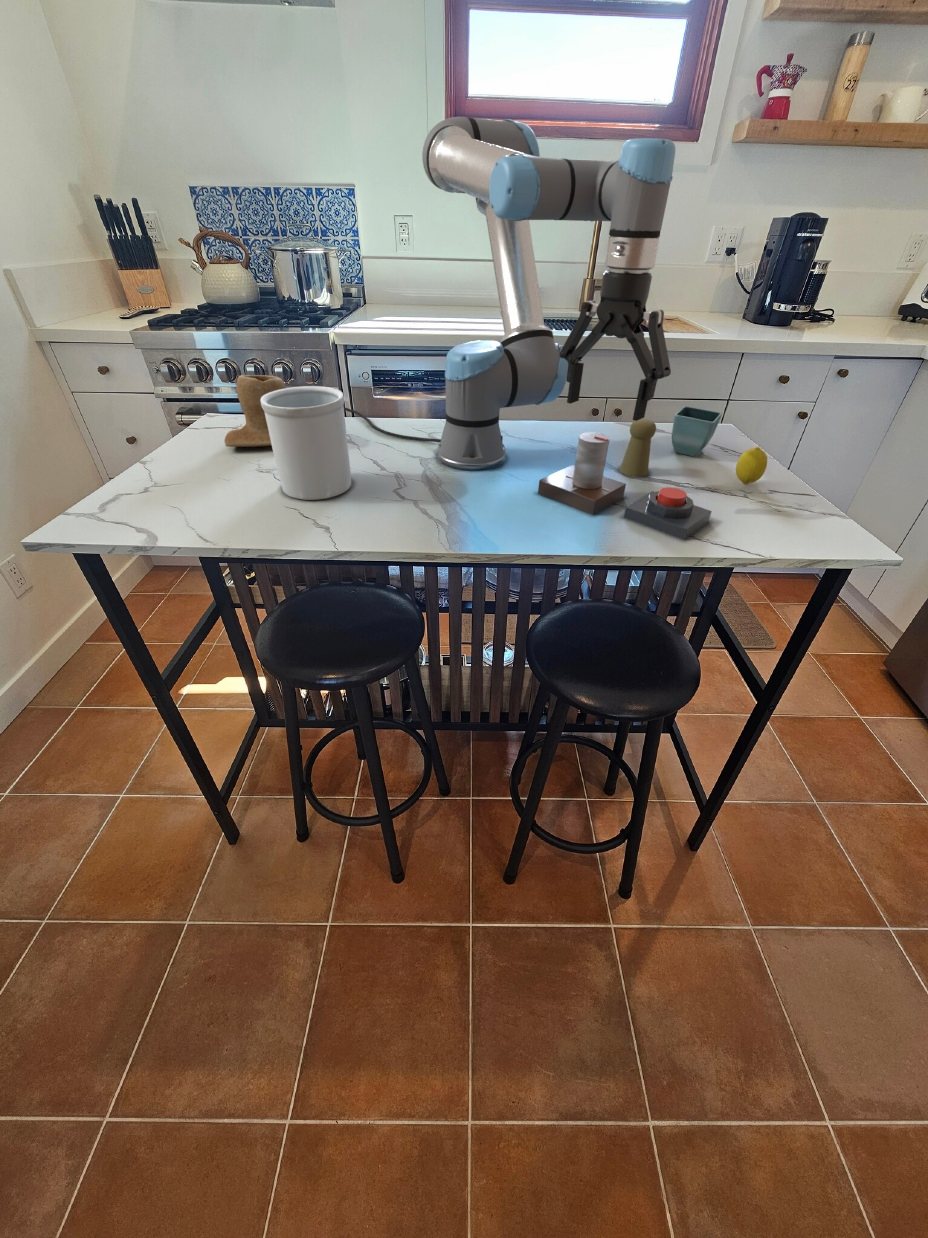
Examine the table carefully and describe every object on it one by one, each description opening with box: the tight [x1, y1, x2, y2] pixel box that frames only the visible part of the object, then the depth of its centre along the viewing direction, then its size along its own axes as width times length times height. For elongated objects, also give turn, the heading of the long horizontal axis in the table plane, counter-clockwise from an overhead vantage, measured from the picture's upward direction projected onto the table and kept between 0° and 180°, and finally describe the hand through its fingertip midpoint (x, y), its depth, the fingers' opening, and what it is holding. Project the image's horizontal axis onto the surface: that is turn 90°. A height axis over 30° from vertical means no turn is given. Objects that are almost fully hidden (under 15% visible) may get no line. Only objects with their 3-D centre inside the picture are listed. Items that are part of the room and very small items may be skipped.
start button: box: [657, 486, 688, 507], centre depth 99 cm, size 5×5×2 cm
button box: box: [623, 490, 712, 541], centre depth 101 cm, size 12×10×4 cm
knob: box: [573, 431, 611, 489], centre depth 104 cm, size 6×6×9 cm
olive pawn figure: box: [619, 418, 657, 478], centre depth 116 cm, size 6×6×11 cm
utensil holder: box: [260, 385, 352, 501], centre depth 105 cm, size 15×15×18 cm
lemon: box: [735, 446, 768, 486], centre depth 113 cm, size 6×6×8 cm
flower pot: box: [671, 405, 723, 458], centre depth 127 cm, size 9×9×9 cm
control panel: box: [537, 464, 627, 516], centre depth 108 cm, size 13×11×3 cm
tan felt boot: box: [223, 374, 286, 448], centre depth 125 cm, size 15×12×15 cm
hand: (604, 410), depth 98 cm, fingers open, 13 cm apart
